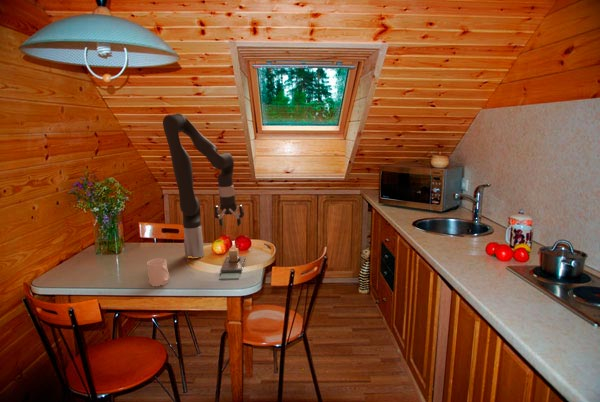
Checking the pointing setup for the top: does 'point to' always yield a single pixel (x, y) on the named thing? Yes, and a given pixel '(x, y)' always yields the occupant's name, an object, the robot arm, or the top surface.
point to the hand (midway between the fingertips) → (230, 225)
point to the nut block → (234, 255)
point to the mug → (157, 271)
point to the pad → (229, 276)
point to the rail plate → (233, 265)
